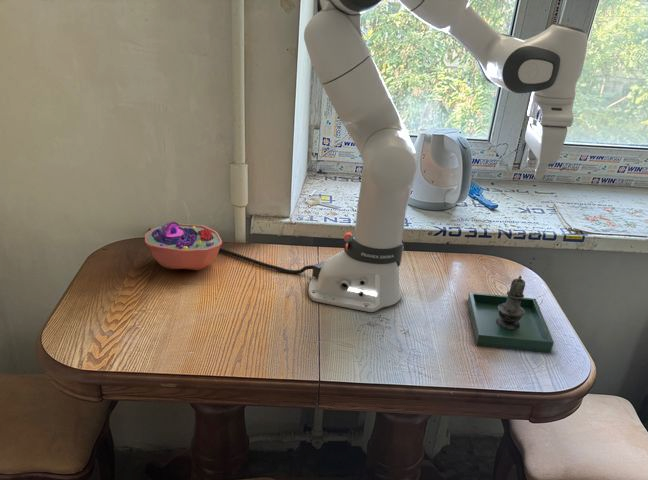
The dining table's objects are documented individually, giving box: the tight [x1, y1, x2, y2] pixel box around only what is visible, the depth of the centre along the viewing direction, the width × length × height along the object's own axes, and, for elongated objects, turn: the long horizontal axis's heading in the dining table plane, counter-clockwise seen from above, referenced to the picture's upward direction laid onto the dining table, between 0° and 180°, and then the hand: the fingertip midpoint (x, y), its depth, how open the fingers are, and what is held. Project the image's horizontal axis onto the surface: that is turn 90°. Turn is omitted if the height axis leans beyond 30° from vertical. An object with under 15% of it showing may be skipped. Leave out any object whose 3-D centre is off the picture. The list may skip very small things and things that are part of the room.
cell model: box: [144, 221, 223, 271], centre depth 151 cm, size 17×20×11 cm
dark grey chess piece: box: [496, 275, 526, 329], centre depth 133 cm, size 6×6×12 cm
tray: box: [466, 292, 555, 353], centre depth 135 cm, size 16×20×3 cm
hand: (533, 172), depth 138 cm, fingers open, 8 cm apart
